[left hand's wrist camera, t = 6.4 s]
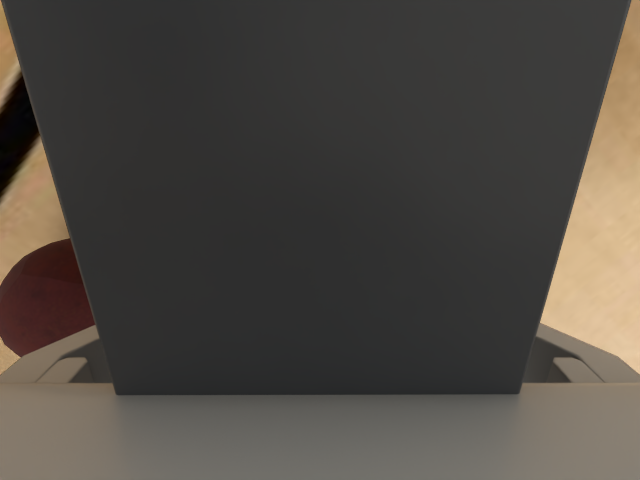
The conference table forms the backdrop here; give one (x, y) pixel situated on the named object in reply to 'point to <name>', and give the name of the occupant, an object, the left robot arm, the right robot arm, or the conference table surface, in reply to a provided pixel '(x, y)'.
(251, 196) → the box
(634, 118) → the conference table surface
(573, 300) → the conference table surface
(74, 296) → the potato
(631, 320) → the conference table surface
